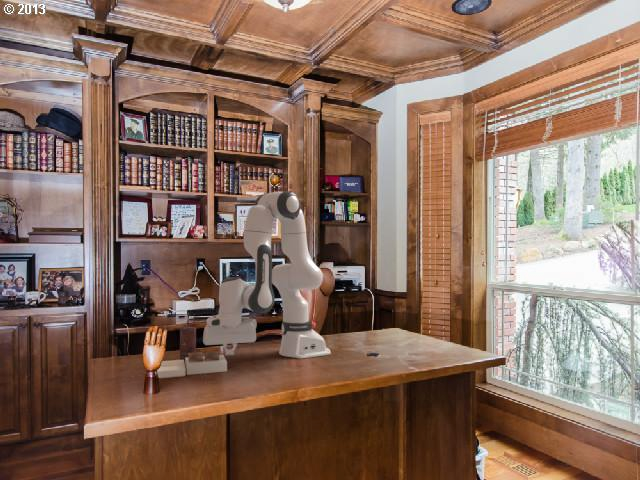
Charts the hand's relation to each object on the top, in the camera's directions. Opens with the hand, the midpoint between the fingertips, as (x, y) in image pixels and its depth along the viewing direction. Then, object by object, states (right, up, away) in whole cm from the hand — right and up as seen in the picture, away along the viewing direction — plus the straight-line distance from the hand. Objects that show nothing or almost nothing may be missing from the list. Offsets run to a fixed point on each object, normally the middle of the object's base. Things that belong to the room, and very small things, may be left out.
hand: (229, 354), depth 172 cm
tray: (-21, -5, -7) cm, 22 cm away
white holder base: (-9, -5, -3) cm, 10 cm away
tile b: (-12, -1, -4) cm, 13 cm away
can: (-18, -5, +7) cm, 20 cm away
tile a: (-6, -1, -2) cm, 7 cm away
